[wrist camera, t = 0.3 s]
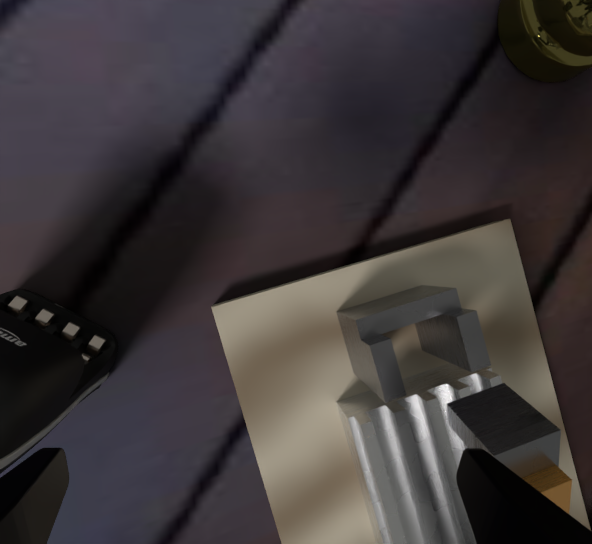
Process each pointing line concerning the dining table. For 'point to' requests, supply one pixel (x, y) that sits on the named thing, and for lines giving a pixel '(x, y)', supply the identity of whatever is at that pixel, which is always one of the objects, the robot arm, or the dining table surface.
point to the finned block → (413, 456)
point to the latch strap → (513, 438)
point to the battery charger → (45, 368)
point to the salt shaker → (547, 37)
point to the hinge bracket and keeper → (430, 328)
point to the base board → (344, 383)
